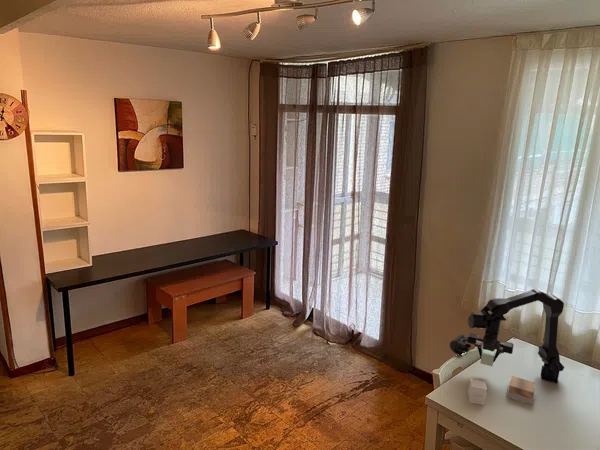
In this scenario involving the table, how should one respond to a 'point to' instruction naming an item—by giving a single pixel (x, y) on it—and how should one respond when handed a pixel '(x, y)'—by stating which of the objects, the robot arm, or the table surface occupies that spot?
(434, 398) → the table surface
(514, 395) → the bottom slab
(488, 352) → the green cube
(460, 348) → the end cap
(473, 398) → the product box
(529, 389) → the top slab
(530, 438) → the table surface
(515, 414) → the table surface
